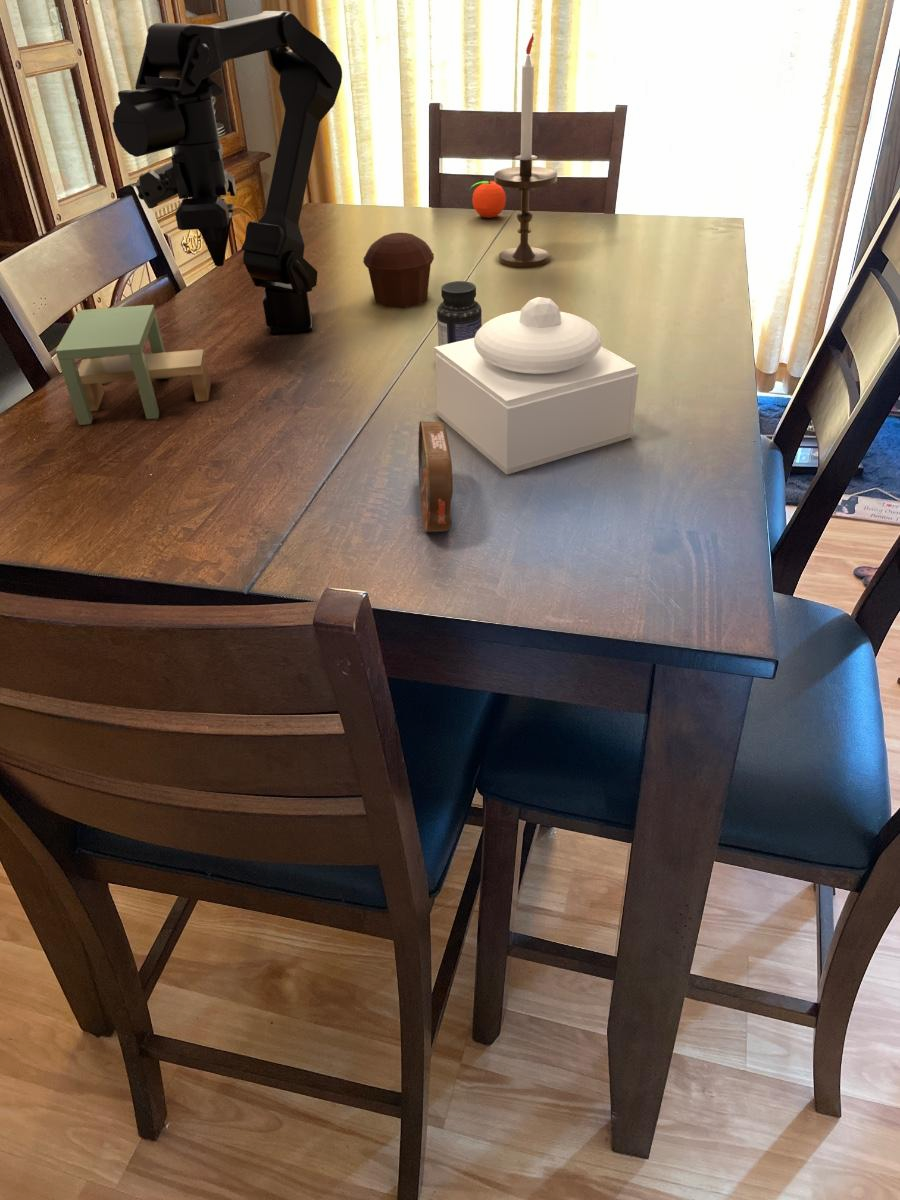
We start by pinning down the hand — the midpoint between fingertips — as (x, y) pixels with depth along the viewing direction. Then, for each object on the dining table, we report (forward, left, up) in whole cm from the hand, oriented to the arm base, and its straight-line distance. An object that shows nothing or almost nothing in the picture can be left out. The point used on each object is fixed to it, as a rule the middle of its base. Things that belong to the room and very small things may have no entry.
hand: (219, 265), depth 122 cm
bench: (+11, +12, -13) cm, 21 cm away
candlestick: (-50, -34, -13) cm, 62 cm away
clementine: (-48, -63, -13) cm, 80 cm away
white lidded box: (-38, +30, -13) cm, 50 cm away
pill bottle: (-32, +10, -13) cm, 36 cm away
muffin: (-26, -19, -13) cm, 35 cm away
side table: (+14, +12, -13) cm, 23 cm away
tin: (-24, +47, -13) cm, 54 cm away
